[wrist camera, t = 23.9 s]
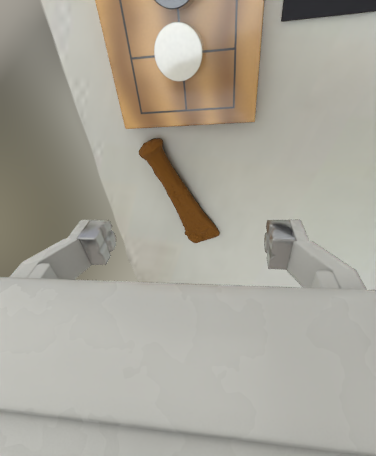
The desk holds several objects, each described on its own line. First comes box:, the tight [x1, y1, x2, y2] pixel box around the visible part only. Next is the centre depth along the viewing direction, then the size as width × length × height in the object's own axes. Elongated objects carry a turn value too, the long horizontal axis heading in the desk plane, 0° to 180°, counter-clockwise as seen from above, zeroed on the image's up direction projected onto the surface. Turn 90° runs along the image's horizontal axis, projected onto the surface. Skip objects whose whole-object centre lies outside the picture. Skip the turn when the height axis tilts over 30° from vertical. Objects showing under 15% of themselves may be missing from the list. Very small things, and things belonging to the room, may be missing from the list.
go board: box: [95, 0, 264, 129], centre depth 25 cm, size 16×20×2 cm
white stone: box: [154, 22, 204, 81], centre depth 24 cm, size 5×5×3 cm
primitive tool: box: [139, 138, 220, 243], centre depth 37 cm, size 19×6×4 cm, turn 28°
